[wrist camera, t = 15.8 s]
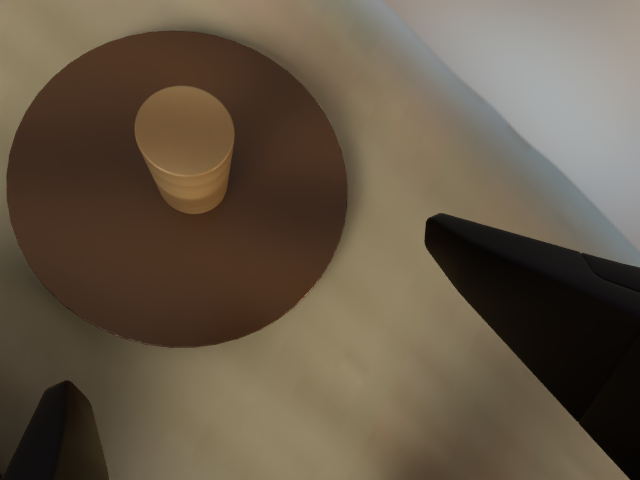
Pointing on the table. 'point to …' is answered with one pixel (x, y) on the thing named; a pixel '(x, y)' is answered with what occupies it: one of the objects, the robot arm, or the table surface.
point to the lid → (176, 189)
